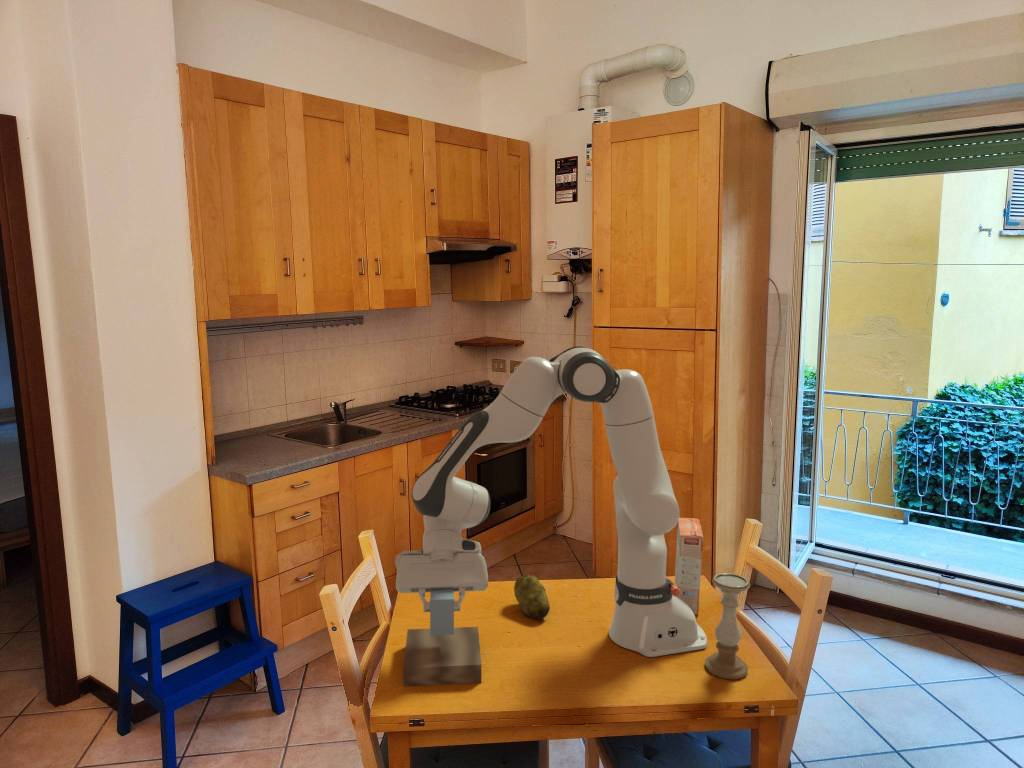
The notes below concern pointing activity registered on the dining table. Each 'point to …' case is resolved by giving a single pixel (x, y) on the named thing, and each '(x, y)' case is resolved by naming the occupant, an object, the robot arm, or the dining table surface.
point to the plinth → (442, 657)
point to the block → (442, 612)
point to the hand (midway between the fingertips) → (442, 610)
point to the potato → (531, 596)
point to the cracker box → (689, 561)
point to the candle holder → (728, 629)
